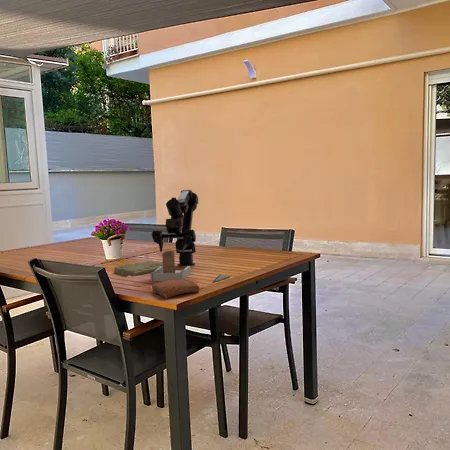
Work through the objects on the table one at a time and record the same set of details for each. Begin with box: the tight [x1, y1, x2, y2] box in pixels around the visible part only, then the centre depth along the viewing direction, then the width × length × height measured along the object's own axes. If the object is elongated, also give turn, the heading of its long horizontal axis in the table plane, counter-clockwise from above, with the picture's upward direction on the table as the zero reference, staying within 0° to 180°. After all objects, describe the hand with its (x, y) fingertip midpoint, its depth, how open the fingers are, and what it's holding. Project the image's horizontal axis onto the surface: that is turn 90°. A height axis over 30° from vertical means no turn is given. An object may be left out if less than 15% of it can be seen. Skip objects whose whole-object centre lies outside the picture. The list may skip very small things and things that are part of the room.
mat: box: [211, 274, 231, 284], centre depth 186 cm, size 12×12×1 cm
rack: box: [149, 265, 191, 282], centre depth 187 cm, size 15×13×4 cm
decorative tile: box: [113, 260, 163, 277], centre depth 206 cm, size 19×20×4 cm
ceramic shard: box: [152, 279, 200, 300], centre depth 165 cm, size 15×6×15 cm
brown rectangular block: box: [161, 250, 176, 273], centre depth 184 cm, size 6×4×12 cm, turn 173°
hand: (171, 251), depth 188 cm, fingers open, 9 cm apart
